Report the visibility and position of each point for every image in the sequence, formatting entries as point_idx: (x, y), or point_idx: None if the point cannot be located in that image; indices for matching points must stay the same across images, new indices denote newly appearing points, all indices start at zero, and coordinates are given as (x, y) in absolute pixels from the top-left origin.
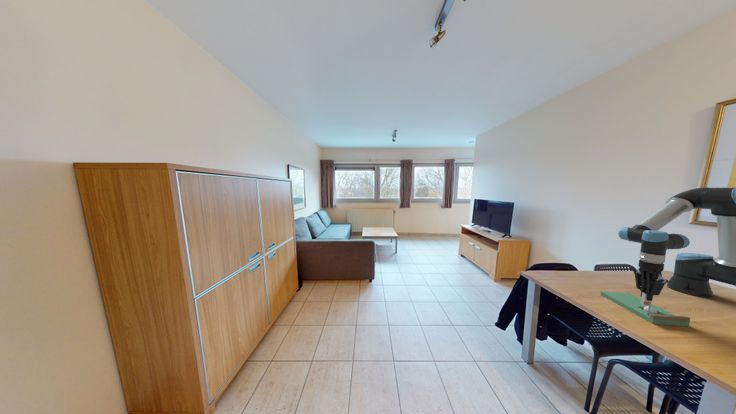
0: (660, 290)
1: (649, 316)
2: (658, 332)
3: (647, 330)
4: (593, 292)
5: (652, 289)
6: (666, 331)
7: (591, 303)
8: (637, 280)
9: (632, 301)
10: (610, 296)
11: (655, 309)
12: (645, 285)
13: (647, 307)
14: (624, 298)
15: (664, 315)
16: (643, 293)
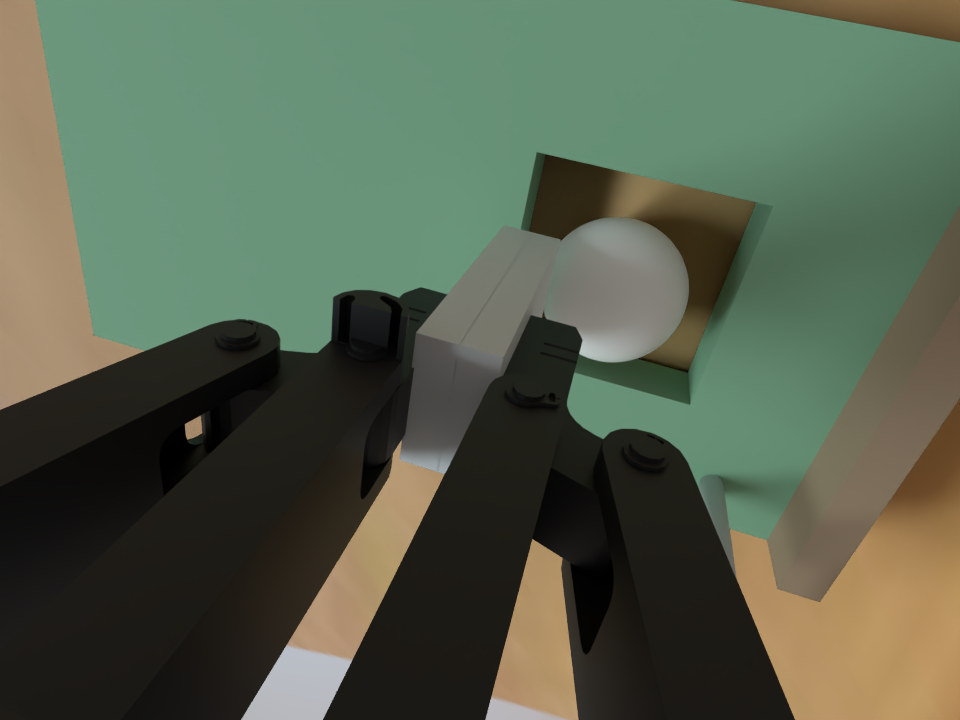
0: (748, 667)
1: (737, 502)
2: (920, 632)
3: (853, 677)
4: (88, 327)
5: (586, 716)
6: (948, 542)
7: (359, 602)
8: (20, 629)
9: (347, 225)
10: None
11: (665, 288)
12: (298, 587)
13: (595, 352)
14: (260, 236)
15: (875, 457)
16: (434, 457)
